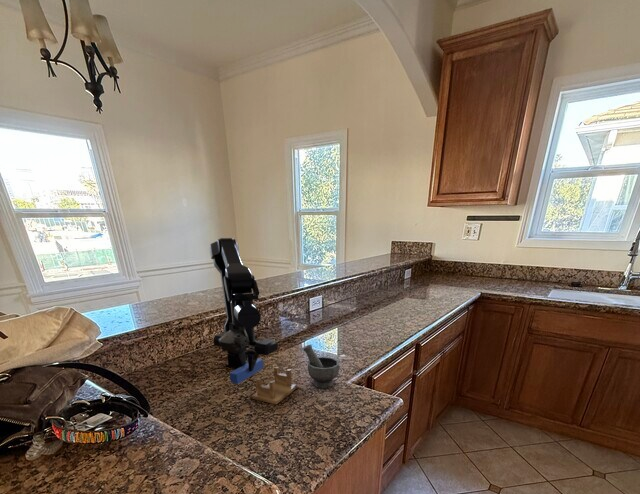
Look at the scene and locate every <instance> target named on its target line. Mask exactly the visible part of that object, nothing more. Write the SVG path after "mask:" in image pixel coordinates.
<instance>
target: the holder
mask: <svg viewBox="0 0 640 494" xmlns="http://www.w3.org/2000/svg"><path fill="white" fill-rule="evenodd" d="M285 371H286V372H285V373H286V374H285V373H280V367H279V366H274V367H273V373H274V374H273V375H274V376H273V377H274V379H273V380H270V381H269V382H268V384H266V385H265V384H263V380H262V377H258V378H256V379H255V383H256V392H255V393H253V394H252V395H251V399H252V400H256V401H260V402H265V403H269V404H272V405H278V404H279V403H280V402H282V401H283V400H284V399H285V398H286V397H288V396H289V395H290V394H291V393H293V392H294V391H295V390H296V389H298V385H297V384H293V383H292V369H291V368H290V369H289V368H288V369H286V370H285Z"/></svg>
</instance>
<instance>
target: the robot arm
mask: <svg viewBox="0 0 640 494" xmlns="http://www.w3.org/2000/svg"><path fill="white" fill-rule="evenodd" d="M240 254H241V253H240V247H239V243H238V242H237V240H236V239H235V238H233V237H219V238H217V240H216V241H213V242H211V243H210V244H209V256H210V259H211V260H212V261H213V266H214V267H215V269H216V270H217V271H218V273H219V274H220V280H221V288H222V294H223V298H224V299H223V301H224V307H225V314H226V321H225V323H224V326H223V331H222V332H220V333H217V334H215V335H214V336H213V339H212V341H213V346H216V347H220V348H221V350H222V351H223V352H227V354H226V357H227V358H226V359H227V362H226V363H224V365H225V366H226V367H231V368H235V369H238V368H240V367H241V366H243V365H245V364H247V363H248V364H249V370H250V372H251V371H253V369H254V366H255V363H256V361H257V358H259V356H260V355H261V356H268V355H271V354H272V353H275V351H277V350H278V349H279V346H278V345H279V344H278V342H277V341H276V339H271V338H266V337H265V338H263V339H261V340H256V339H258V334H256V333H255V328H256V327H258V325H259V324H260V322H261V317H262V316H261V315H262V314H261V313H260V310H259V309H258V308H257V307H256V306H255V304H254V301H255V300H256V301H257V300H258V301H259V300H260V299H259V296H260V290H259V286H258V281H257V279H256V278H255V276H254V275H253V274H252V272H251V270H250V268H249V267H248V266H246V265H244V264H243V263H242V259H241V257H240V256H241V255H240ZM247 349H248V350H247Z"/></svg>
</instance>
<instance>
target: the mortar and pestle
mask: <svg viewBox="0 0 640 494" xmlns="http://www.w3.org/2000/svg"><path fill="white" fill-rule="evenodd" d="M302 350H303V352H304V353H305V354H306V356H307V359H308V360H307V373H308V374H309V377H310V378H311V379H312V380H313V385H314V386H315V387H316V388H322V389H325V388H330V387H332V386H334V379H336V378H337V376H338V375H339V372H340V361H339V360H338V359H336V358H334V357H328V356H318V355H317V354H316V353H315V351H314V349H313V345H312V344H307V345H305V346H304V347H303V348H302Z"/></svg>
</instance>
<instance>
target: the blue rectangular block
mask: <svg viewBox="0 0 640 494" xmlns="http://www.w3.org/2000/svg"><path fill="white" fill-rule="evenodd" d="M261 370H264V359H263V358H259V357H258V358H257V361H256V363H255V366H254V369H253V371H251V372H250V370H249V364H248V363H247V364H245V365H243V366H241V367H240V368H235V369H234V370H233V371H231V372H229V378H230V379H229V380H230V383H231V384H235V385H239V384H240V383H242V382H243V381H245V380H247V379H248V378H250V377H252V376H253V375H255V374H256V373H258V372H260V371H261Z"/></svg>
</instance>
